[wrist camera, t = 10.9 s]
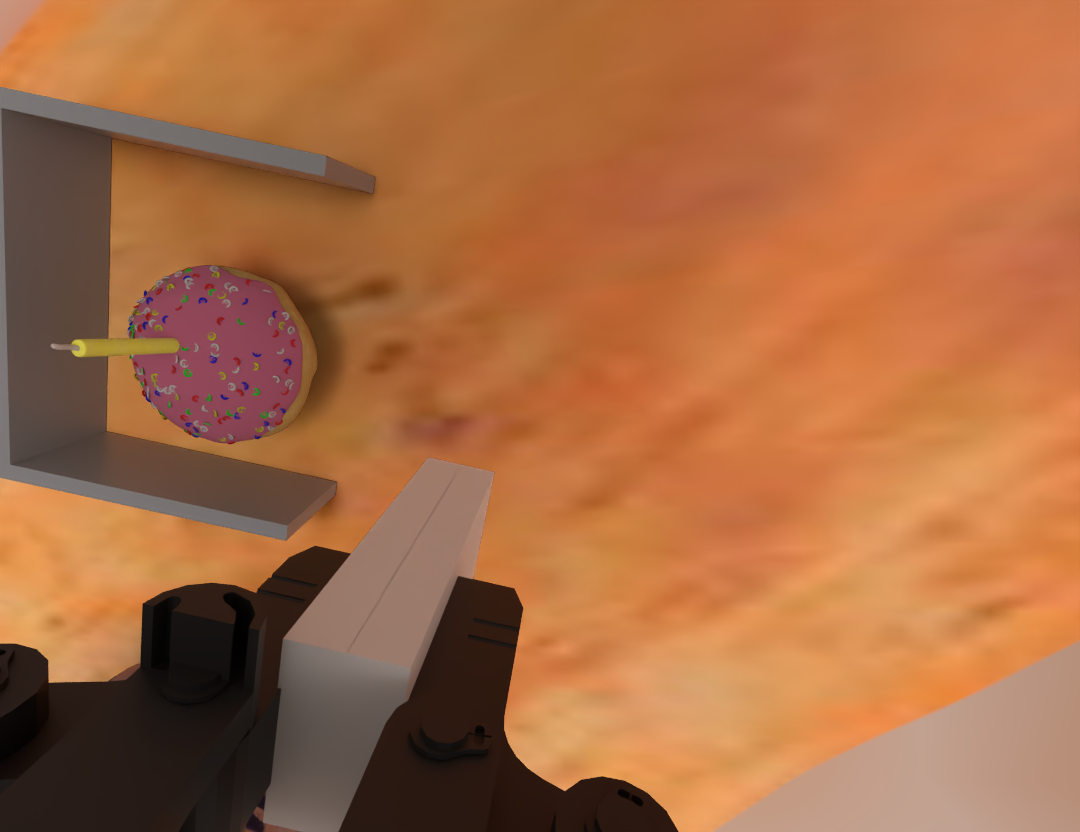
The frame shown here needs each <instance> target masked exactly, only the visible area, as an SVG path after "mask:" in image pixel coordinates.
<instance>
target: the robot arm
mask: <svg viewBox="0 0 1080 832" xmlns="http://www.w3.org/2000/svg"><path fill="white" fill-rule="evenodd" d="M494 473H495V472H492V471H488V470H483V469H479V468H474V467H470V466H465V465H461V464H456V463H452V462H447V461H443V460H438V459H434V458H429V457H428V458H427V460H426V461H425V462H424V463H423V465H422V466H421V467H420V468H419V470H418V471H417V472H416V473H415V475H414V476H413V477H412V478H411V480H410V481H409V482H408V483H407V485H406V486H405V487H404V488H403V490H402V491H401V492H400V493H399V495H398V496H397V497H396V498H395V500H394V501H393V502H392V503H391V505H390V506H389V507H388V508H387V510H386V511H385V512H384V513H383V515H382V516H381V517H380V518H379V520H378V521H377V522H376V523H375V525H374V526H373V527H372V528H371V530H370V531H369V532H368V533H367V535H366V536H365V537H364V538H363V540H362V541H361V542H360V543H359V545H358V546H357V547H356V548H355V550H354V551H353V552H352V553H351V554H350V553H345V552H341V551H336V550H332V549H327V548H323V547H319V546H314V547H311V548H309V549H307V550H305V551H303V552H300V553H298V554H296V555H294V556H292V557H289V558H288V559H287V560H286V561H285V562H284V563H283V564H282V565H281V566H280V567H279V568H278V569H277V570H276V571H275V572H274V573H273V574H272V577H271V578H268V579H267V580H266V581H265V582H264V583H263V584H262V585H261V586H260V587H259V588H258V591H257V593H255V592H251V591H249V590H246V589H244V588H241V587H238V586H236V585H227V584H218V583H206V584H195V585H186V586H183V587H180V588H176V589H173V590H169V591H166V592H163V593H161V594H159V595H157V596H156V597H154V598H152V599H150V600H148V601H147V602H145V603H143V610H142V637H141V664H140V668H138V669H137V670H136V671H135V672H134V673H133V674H132V675H131V676H130V677H129V678H127V679H126V680H120V681H109V682H62V683H48V660H47V659H46V658H45V657H44V656H43V655H42V654H41V653H40V652H39V651H38V650H37V649H33V648H30V647H26V646H22V645H18V644H0V832H245V831H246V824H247V822H248V820H249V819H250V817H251V816H252V814H253V812H254V811H255V809H256V807H257V806H258V804H259V802H260V801H261V799H262V797H263V796H264V794H265V792H266V799H265V808H264V817H263V823H267V824H271V825H275V826H279V827H284V828H288V829H292V830H297V831H301V832H678V830H677V828H676V827H675V825H674V823H673V822H672V820H671V818H670V816H669V815H668V813H667V811H666V810H665V809H664V808H663V807H662V806H660V805H659V804H658V803H657V802H656V801H655V800H654V799H653V798H652V797H651V796H650V795H649V794H648V793H647V792H645V791H643V790H641V789H639V788H637V787H635V786H633V785H632V784H630V783H628V782H626V781H623V780H618V779H613V778H607V777H596V778H590V779H584V780H580V781H579V782H578V783H576V784H575V785H573V786H572V787H570V788H569V789H568V790H566V791H563V790H562V789H560V788H558V787H556V786H554V785H553V784H551V783H549V782H547V781H545V780H544V779H542V778H541V777H539V776H538V775H536V774H535V773H533V772H532V771H530V770H529V769H528V768H527V767H526V766H525V765H524V764H523V763H522V762H521V761H520V760H519V759H518V758H517V757H516V755H515V754H514V752H513V750H512V749H511V747H510V745H509V744H508V741H507V738H506V735H505V731H504V715H505V709H506V703H507V697H508V692H509V686H510V680H511V675H512V669H513V663H514V658H515V652H516V646H517V641H518V635H519V629H520V623H521V618H522V612H523V607H522V604H521V602H520V600H519V598H518V595H517V593H516V591H515V589H514V588H510V587H505V586H501V585H497V584H492V583H488V582H483V581H479V580H474V579H473V577H474V572H475V567H476V562H477V557H478V552H479V547H480V542H481V537H482V532H483V527H484V522H485V517H486V512H487V507H488V503H489V498H490V493H491V488H492V483H493V478H494Z"/></svg>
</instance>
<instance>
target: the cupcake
mask: <svg viewBox="0 0 1080 832" xmlns="http://www.w3.org/2000/svg"><path fill="white" fill-rule="evenodd" d="M164 278H165V279H164ZM162 279H163V280H158V281H157V282H156V285H155V286H154V287H153V288H152V289H151V290H150V291H149V292H148V293H147V291H146V290H145V291H144V297H143V298H140V299H139V300H138V301H136V303H139V305H137V306H135V307H134V308H137V307H138V308H137V309H135V310H133V311H132V315H131V316H129V317H128V321H129V322H130V324H129V325H130V327H129V328H128V333H127V334H128V336H129V337H130V339H77V340H74V341H73V342H72V344H71V345H70V344H51V347H52V348H53V349H56V350H71V351H72V353H73V354H74V355H75V356H77V357H96V356H119V355H130V359H132V361H133V365H134V369H135V372H136V374H134V378H135V379H136V380H138V381H140V386H141V387H142V388H143V389H144V390H143V391H142V394H143V396H145V397H146V400H147V401H148V402H151V405H152V407H153V408H157V409H158V411H159V413H160V414H161V416H162V418H163V419H164V420H166V419H167V418H168V419H169V420H170V421H171V422H173V423H174V424H175V425H177V426H179V427H180V428H182V429H184V431H185V432H186V433H188V434H189V435H192V436H194V437H196V438H197V437H202V438H205V439H208V440H211V441H214V442H219V443H228V444H233V443H235V442H238V441H244V440H251V439H259V438H261V437H266V436H270V435H273V434H275V433H278V432H280V431H281V430H283V429H285V428H286V427H288V426H289V425H290V424H291V423H292V422H293V421H294V420H295V419H296V418H297V416H298V415H299V413H300V411H301V409H302V407H303V406H304V404H305V402H306V399H307V397H308V393H309V389H310V385H311V381H312V378H313V376H314V374H315V372H316V370H317V365H318V362H317V353H316V347H315V344H314V341H313V338H312V336H311V333H310V331H309V328H308V327H307V325H306V323H305V321H304V320H303V318H302V316H301V315H300V313H299V311H298V310H297V308H296V307H295V305H294V304H293V302H292V301H291V299H290V298H289V296H288V294H287V293H286V292H285V290H284V289H283V288H282V287H281V286H280V285H278V284H277V283H275V282H273V281H270V280H267V279H265V278H262V277H260V276H257V275H255V274H252V273H249V272H246V271H243V270H239V269H235V268H231V267H225V266H212V265H205V266H197V267H191V268H190V267H189V268H186V269H184V270H181V271H178V272H176V273H174V274H172V275H170V276H168V277H162ZM134 312H135V313H134ZM132 317H134V320H133V321H131V320H132V319H131V320H130V318H132ZM136 375H137V377H136ZM144 392H145V394H146V395H145V394H144ZM148 398H149V399H148ZM163 416H164V417H166V418H164V417H163ZM191 433H192V434H191ZM196 435H197V436H196Z"/></svg>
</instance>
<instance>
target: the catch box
mask: <svg viewBox="0 0 1080 832" xmlns="http://www.w3.org/2000/svg"><path fill="white" fill-rule="evenodd" d="M111 138H113V139H118V140H123V141H127V142H132V143H137V144H142V145H146V146H151V147H156V148H160V149H165V150H170V151H175V152H179V153H184V154H189V155H193V156H198V157H203V158H207V159H212V160H217V161H222V162H226V163H231V164H236V165H240V166H245V167H250V168H255V169H259V170H264V171H269V172H273V173H278V174H283V175H288V176H292V177H297V178H302V179H306V180H311V181H316V182H321V183H325V184H330V185H335V186H339V187H344V188H349V189H354V190H358V191H363V192H368V193H372V194H373V193H374V185H375V177H374V176H371V175H369V174H367V173H364V172H362V171H360V170H358V169H355V168H353V167H351V166H348V165H346V164H344V163H342V162H339V161H337V160H335V159H332V158H330V157H328V156H324V155H320V154H315V153H310V152H305V151H301V150H296V149H291V148H287V147H282V146H277V145H272V144H268V143H263V142H258V141H254V140H249V139H244V138H239V137H235V136H230V135H225V134H220V133H216V132H211V131H206V130H202V129H197V128H192V127H187V126H183V125H178V124H173V123H168V122H164V121H159V120H154V119H150V118H145V117H140V116H135V115H131V114H126V113H121V112H116V111H112V110H107V109H102V108H98V107H93V106H88V105H83V104H79V103H74V102H69V101H65V100H60V99H55V98H50V97H46V96H41V95H36V94H31V93H27V92H22V91H17V90H13V89H8V88H3V87H0V478H4V479H9V480H13V481H18V482H23V483H27V484H32V485H36V486H41V487H45V488H50V489H54V490H59V491H63V492H68V493H72V494H77V495H81V496H86V497H91V498H95V499H100V500H104V501H109V502H113V503H118V504H122V505H127V506H131V507H136V508H140V509H145V510H149V511H154V512H159V513H163V514H168V515H172V516H177V517H181V518H186V519H190V520H195V521H199V522H204V523H208V524H213V525H218V526H222V527H227V528H231V529H236V530H240V531H245V532H249V533H254V534H258V535H263V536H267V537H272V538H276V539H281V540H287V539H288V538H289V537H290V536H292V535H293V534H294V533H295V532H296V531H297V530H298V529H299V528H300V527H301V526H302V525H303V524H304V523H306V522H307V521H308V520H309V519H310V518H311V517H312V516H313V515H314V514H315V513H316V512H317V511H318V510H319V509H321V508H322V507H323V506H324V505H325V504H326V503H327V502H328V501H329V500H330V499H331V498H332V497H333V496H334V495H336V487H337V482H335V481H331V480H326V479H322V478H317V477H313V476H308V475H303V474H299V473H294V472H290V471H285V470H281V469H276V468H271V467H267V466H262V465H258V464H253V463H249V462H244V461H239V460H235V459H230V458H226V457H221V456H217V455H212V454H207V453H203V452H198V451H194V450H189V449H185V448H180V447H176V446H171V445H166V444H162V443H157V442H153V441H148V440H144V439H139V438H134V437H130V436H125V435H121V434H116V433H112V432H107V431H106V406H107V356H96V357H77V356H75V355H74V354H73V353H72V351H71V350H56V349H53V348H52V347H51V344H70V345H71V344H72V342H73V341H74V340H77V339H108V298H109V245H110V191H111Z"/></svg>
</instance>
